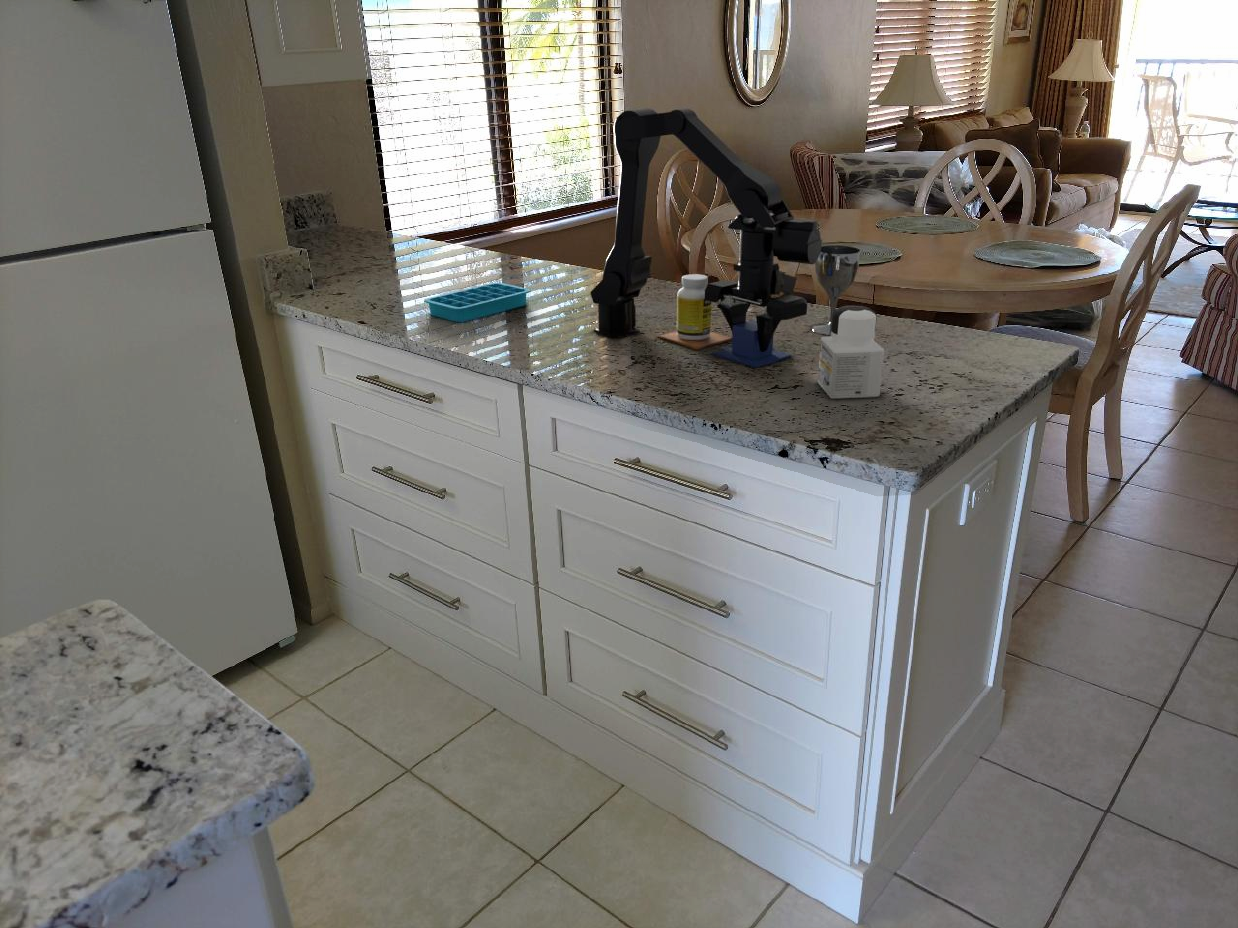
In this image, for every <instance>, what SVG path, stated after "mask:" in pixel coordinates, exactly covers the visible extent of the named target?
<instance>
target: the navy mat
mask: <svg viewBox="0 0 1238 928" xmlns="http://www.w3.org/2000/svg"><path fill="white" fill-rule="evenodd" d="M712 355H713V356H716V357H718V358H722V359H726V360H729V361H732V362H735V363H739V364H742V365H745V366H748V367H751V368H754V369H757V368H760V367H763V366H768V365H770V364H773V363H777V362H779V361H783V360H787V359H790V358H792V354H789V353H786V352H782V351H779V350H775V349H773V350H772V354H770V355H766V356H763V357H760V358H756V359H749V358H746V357H743V356H739V355H736V354H733V353H732V346H730V347H729V348H725V349H720V350H718V351H715V352H713V353H712Z"/></svg>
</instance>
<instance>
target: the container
mask: <svg viewBox="0 0 1238 928" xmlns="http://www.w3.org/2000/svg"><path fill="white" fill-rule="evenodd" d="M877 318H878V314H877V312H876V311H875V310H873V309H871V308H869V307H867V306H862V305H843V306H840V307H836V310H835V311H834V312H833V315H832V328H831V335H827V336H821V338H820V345H819V347H820V348H819V360H818V371H817V383H818V384H819V386H820V387H821V388H822V390H823V391H824V392H825V393H826V394H827V396H828V397H829V398H830V399H832V400H837V399H860V398H861V399H863V398H878V397H880V395H881V388H882V387H881V386H882V378H883V368H884V357H885V349H884V348H883V347H882V346H881V345H880V344H879V343H877V342H876V341H875V338H876V329H877V321H878V320H877Z"/></svg>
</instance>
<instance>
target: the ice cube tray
mask: <svg viewBox="0 0 1238 928" xmlns="http://www.w3.org/2000/svg"><path fill="white" fill-rule="evenodd" d="M531 292H532V290H531V288H527V287H522V286H517V285H513V284H508V283H504V282H490V283H486V284H481V285H477V286H473V287H469V288H466V289H460V290H457V291H456V290H455V291H452V292H448V293H444V294H440V295H435V296H432V297H428V298H424V299H423V302H424V303H425V304H428V306H429V307H428V308H429V312H430V315H431V316H433V317H438V318H440V319H444V320H449V321H452V322H456V323H463V322H469V321H472V320H476V319H479V318H480V319H481V318H483V317H484V318H485V317H488V316H491V315H495V314H498V313H501V312H505V311H509V310H513V309H517V308H520V307H524V306H526V305H527V294H530V293H531Z"/></svg>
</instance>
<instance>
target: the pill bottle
mask: <svg viewBox="0 0 1238 928" xmlns="http://www.w3.org/2000/svg"><path fill="white" fill-rule="evenodd" d="M708 284H709V277H708V276H707V275H705V274H698V273H692V274H685V275H682V276H681V286H682V287H681V288H680V289H678V290H677V293H676V294H677V296H676V302H677V303H676V331H677V336H678V337H679V338H681V339H685V340H703V339H706V338H708V337H709V336H710V332H711V326H712V325H711V324H712V323H711V322H712V302H711V301H707V300H705V289H706V287H707V285H708Z"/></svg>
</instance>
